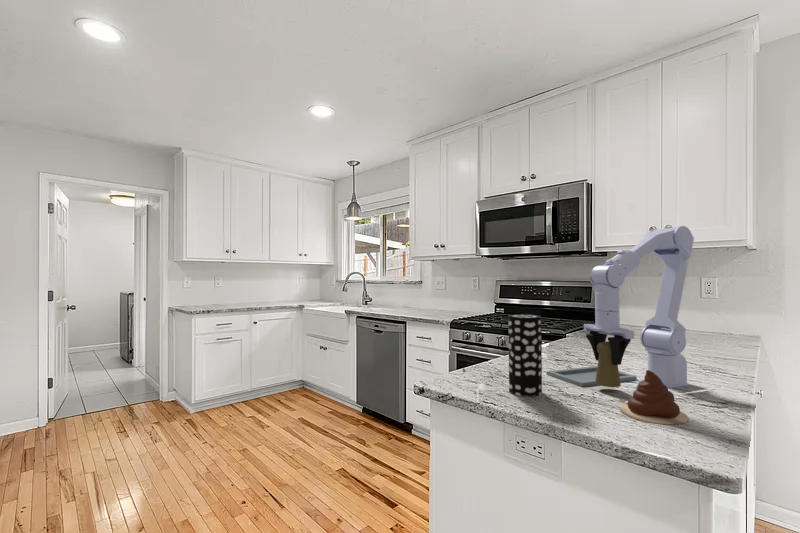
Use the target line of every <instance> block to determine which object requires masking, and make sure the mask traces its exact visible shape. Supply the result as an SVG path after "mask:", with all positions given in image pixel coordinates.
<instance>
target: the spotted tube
mask: <svg viewBox="0 0 800 533" xmlns="http://www.w3.org/2000/svg"><path fill="white" fill-rule="evenodd" d="M542 343H543V342H542V316H541V315H536V314H508V391H509V393H511V394H512V395H515V396H519V397H538V396H541V395H543V377H542V376H543V369H542V367H543V364H542V363H543V361H542V360H543V357H542V356H543V355H542V354H543V352H542V350H543V349H542Z"/></svg>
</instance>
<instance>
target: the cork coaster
mask: <svg viewBox="0 0 800 533" xmlns="http://www.w3.org/2000/svg"><path fill="white" fill-rule="evenodd" d="M619 411H620V413H622V414H623V415H625V416H627V417H629V418H632V419H634V420H637V421H640V422H641V421H642V422H646V423H649V424H650V423H651V424H657V425H667V426H668V425H669V426H670V425H671V426H672V425H682V424H685V423H687V422H689V417H688V415H687V414H686V413H684V412H683V411H680V413H679V415H678V416H677V417H674V418H665V417H661V416H658V415H653V416H645V415H639V414H636V413H634V412H632V411H631V410H630V409H629V408H628V405H627V403H625V404H622V405H620V406H619Z"/></svg>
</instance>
